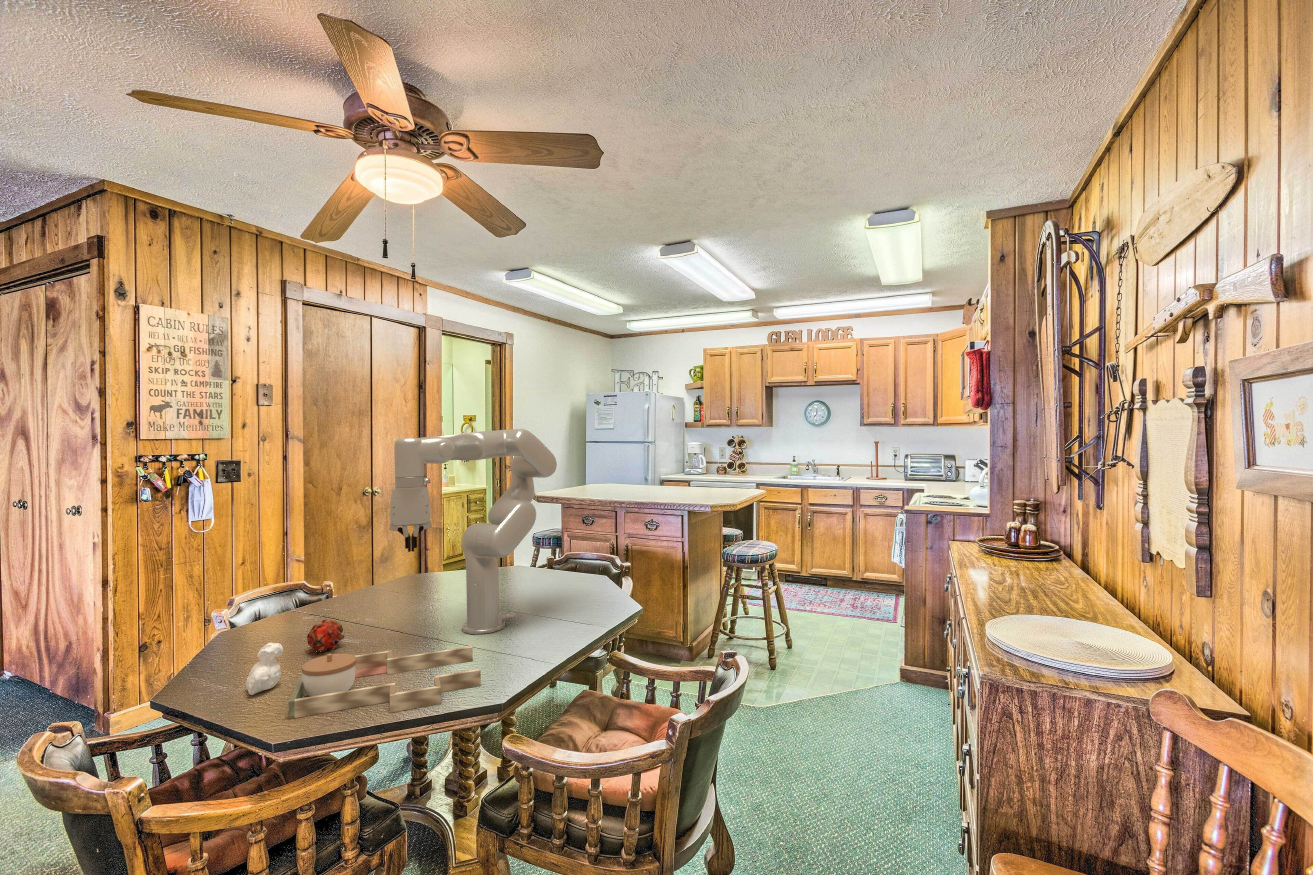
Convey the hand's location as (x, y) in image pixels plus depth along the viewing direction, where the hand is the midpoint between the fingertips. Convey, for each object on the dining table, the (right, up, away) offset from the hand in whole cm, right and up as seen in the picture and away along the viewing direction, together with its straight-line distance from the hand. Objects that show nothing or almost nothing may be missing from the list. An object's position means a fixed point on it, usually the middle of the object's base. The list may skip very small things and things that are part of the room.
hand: (411, 550), depth 160 cm
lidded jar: (-6, -27, -28) cm, 40 cm away
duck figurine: (-24, -28, -23) cm, 43 cm away
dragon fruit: (-24, -28, +2) cm, 37 cm away
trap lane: (+5, -27, -23) cm, 36 cm away
